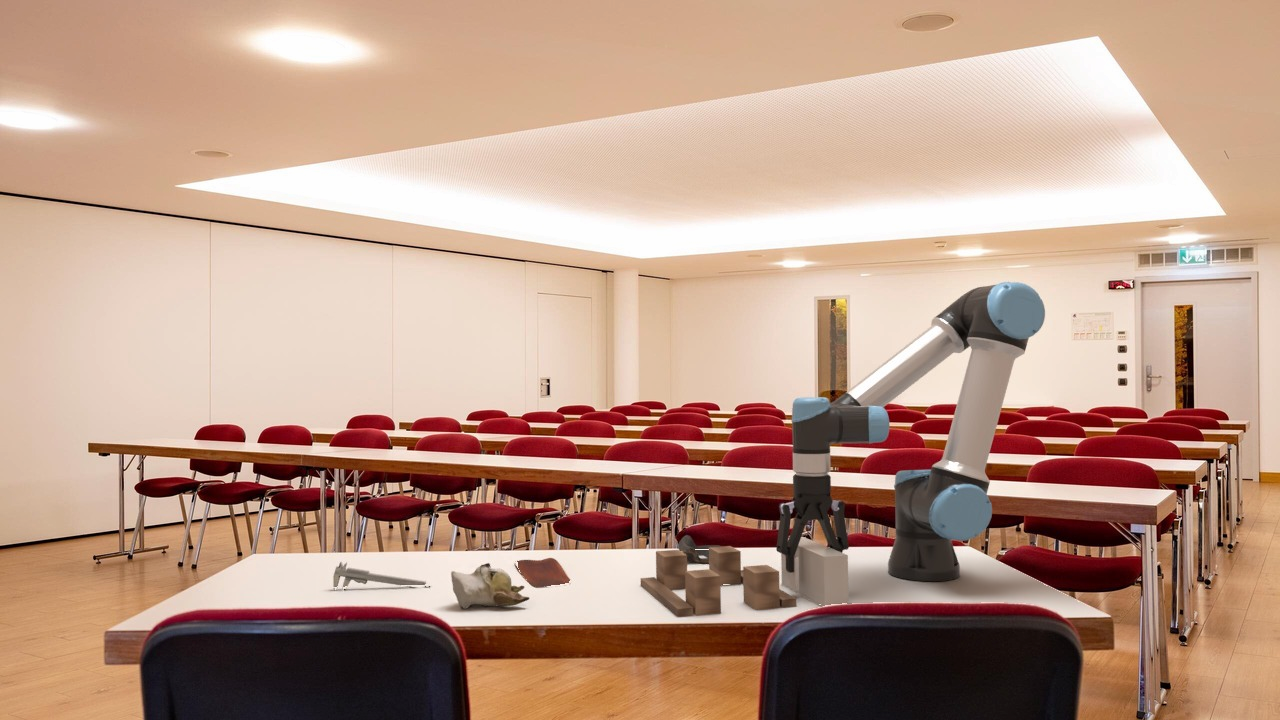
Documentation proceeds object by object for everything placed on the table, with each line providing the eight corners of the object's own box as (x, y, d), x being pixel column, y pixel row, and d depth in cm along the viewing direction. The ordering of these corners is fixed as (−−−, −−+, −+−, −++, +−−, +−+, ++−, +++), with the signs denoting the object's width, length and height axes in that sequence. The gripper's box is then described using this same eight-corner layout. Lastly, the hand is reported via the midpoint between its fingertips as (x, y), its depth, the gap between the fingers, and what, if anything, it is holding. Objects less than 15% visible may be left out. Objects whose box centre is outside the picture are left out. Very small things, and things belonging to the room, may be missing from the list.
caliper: (333, 592, 196) (332, 562, 196) (334, 591, 197) (334, 561, 197) (431, 588, 197) (430, 559, 197) (432, 587, 199) (431, 558, 199)
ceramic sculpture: (450, 557, 185) (525, 557, 189) (448, 600, 185) (523, 600, 189) (452, 569, 175) (531, 569, 179) (450, 615, 175) (529, 614, 178)
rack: (745, 576, 203) (745, 545, 203) (796, 606, 178) (795, 569, 178) (640, 585, 197) (640, 552, 197) (677, 616, 172) (677, 579, 172)
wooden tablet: (512, 565, 221) (512, 558, 221) (554, 562, 224) (554, 555, 224) (528, 591, 195) (528, 583, 195) (575, 587, 198) (575, 579, 198)
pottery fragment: (731, 565, 217) (731, 546, 217) (681, 565, 216) (681, 547, 216) (722, 552, 232) (722, 534, 232) (675, 552, 231) (675, 535, 231)
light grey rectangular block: (803, 583, 197) (802, 536, 197) (848, 607, 178) (847, 555, 178) (781, 585, 196) (781, 538, 196) (824, 609, 176) (824, 556, 176)
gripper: (848, 469, 193) (849, 578, 193) (757, 473, 188) (759, 586, 188) (866, 473, 186) (868, 587, 186) (772, 478, 180) (774, 595, 180)
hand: (813, 586), depth 187 cm, fingers open, 8 cm apart
